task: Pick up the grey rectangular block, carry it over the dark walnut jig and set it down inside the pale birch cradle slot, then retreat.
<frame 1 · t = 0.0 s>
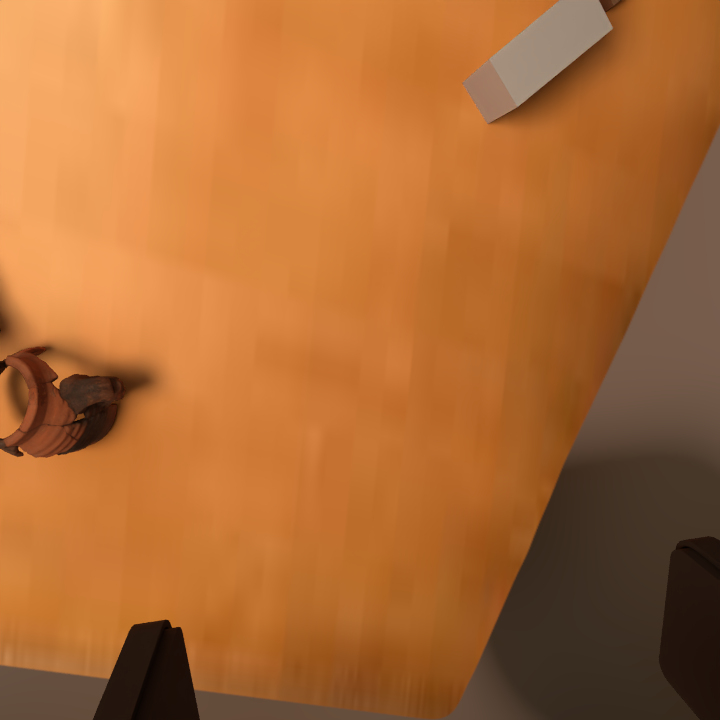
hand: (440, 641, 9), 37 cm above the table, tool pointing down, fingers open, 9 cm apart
grey rectangular block: (516, 69, 42), on the table
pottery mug: (74, 391, 44), on the table
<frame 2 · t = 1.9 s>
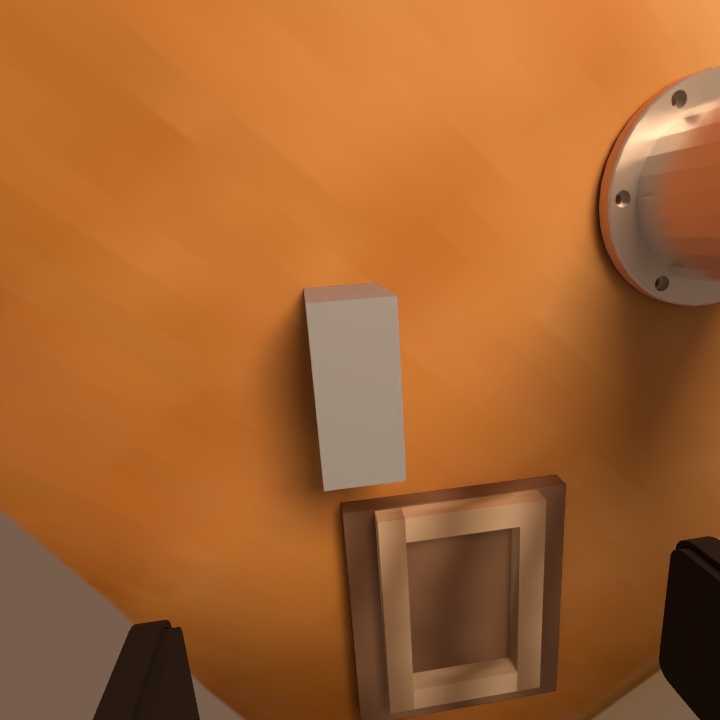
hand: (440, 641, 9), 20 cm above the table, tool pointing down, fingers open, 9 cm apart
jig: (453, 597, 33), on the table
grey rectangular block: (346, 363, 28), on the table
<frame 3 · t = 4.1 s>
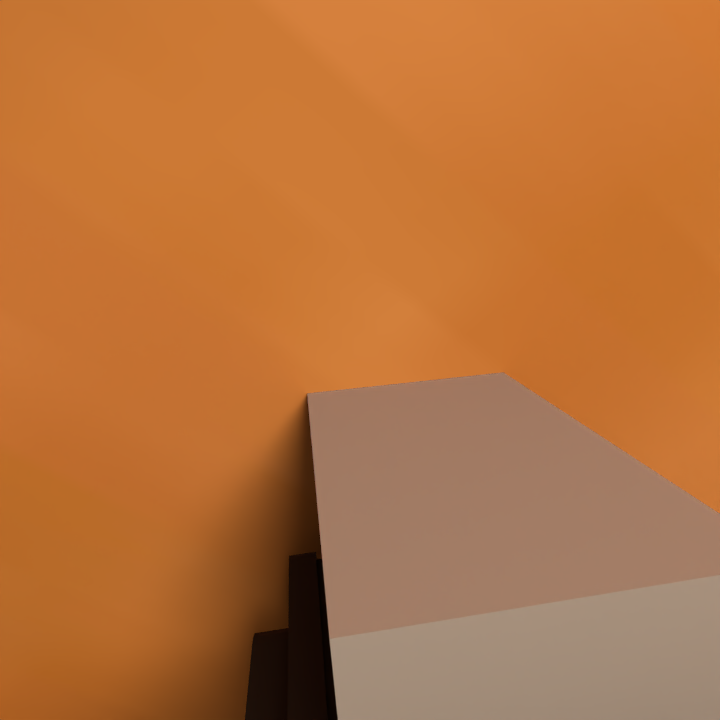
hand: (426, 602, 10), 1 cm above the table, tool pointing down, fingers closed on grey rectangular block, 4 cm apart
grey rectangular block: (416, 574, 11), on the table, touching gripper
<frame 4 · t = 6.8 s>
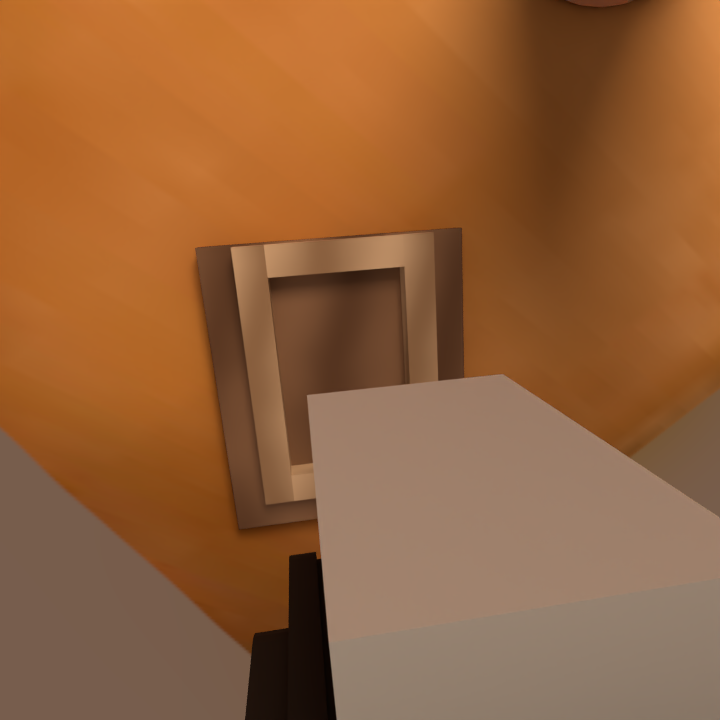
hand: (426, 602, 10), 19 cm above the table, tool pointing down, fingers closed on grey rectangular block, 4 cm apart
jig: (342, 380, 29), on the table
grey rectangular block: (415, 575, 11), point 18 cm above the table, touching gripper
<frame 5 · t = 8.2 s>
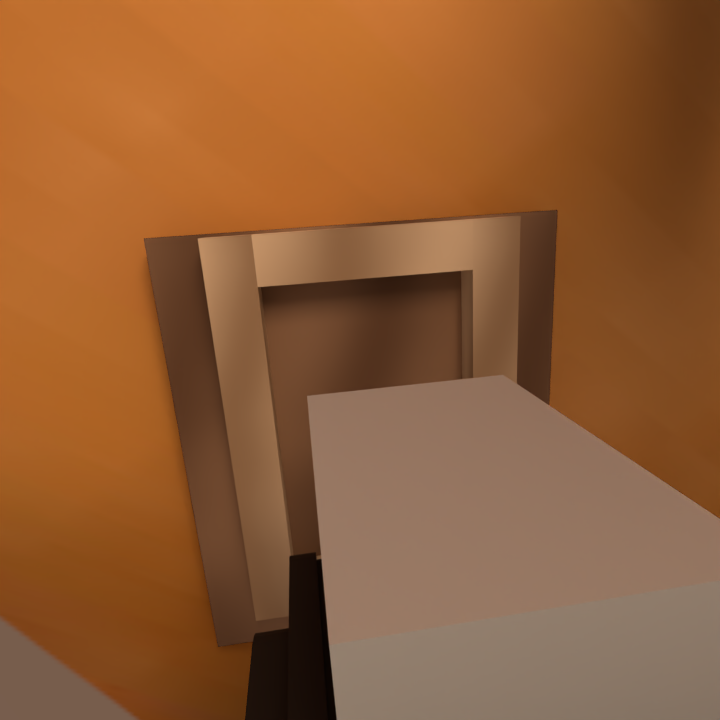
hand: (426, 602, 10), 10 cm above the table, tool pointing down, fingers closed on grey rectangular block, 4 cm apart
jig: (369, 433, 20), on the table
grey rectangular block: (415, 576, 11), point 9 cm above the table, touching gripper
when the fingers open (3 cm above the table, at t = 9.5 s): grey rectangular block drops 1 cm, resting on jig.
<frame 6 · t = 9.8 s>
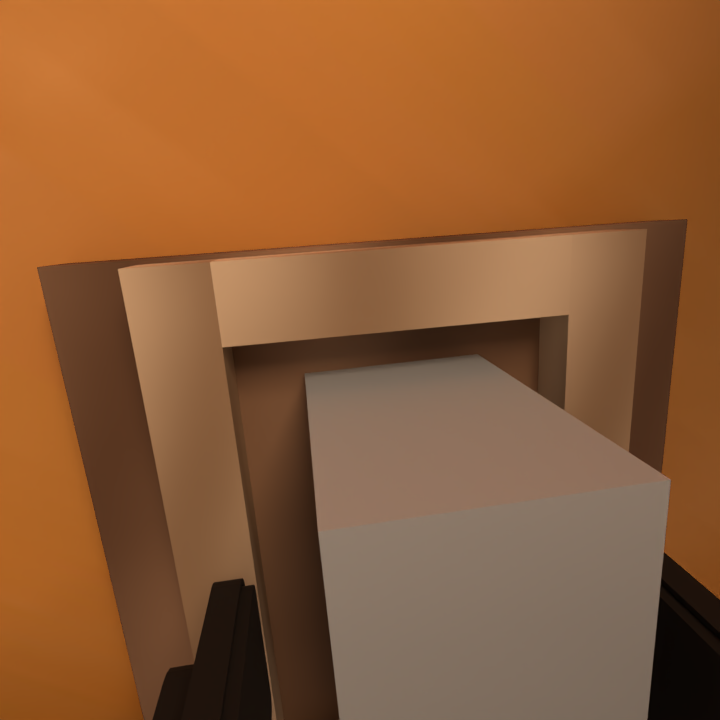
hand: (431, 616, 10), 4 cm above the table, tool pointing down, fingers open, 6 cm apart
jig: (394, 541, 14), on the table
grey rectangular block: (403, 535, 12), point 1 cm above the table, touching jig
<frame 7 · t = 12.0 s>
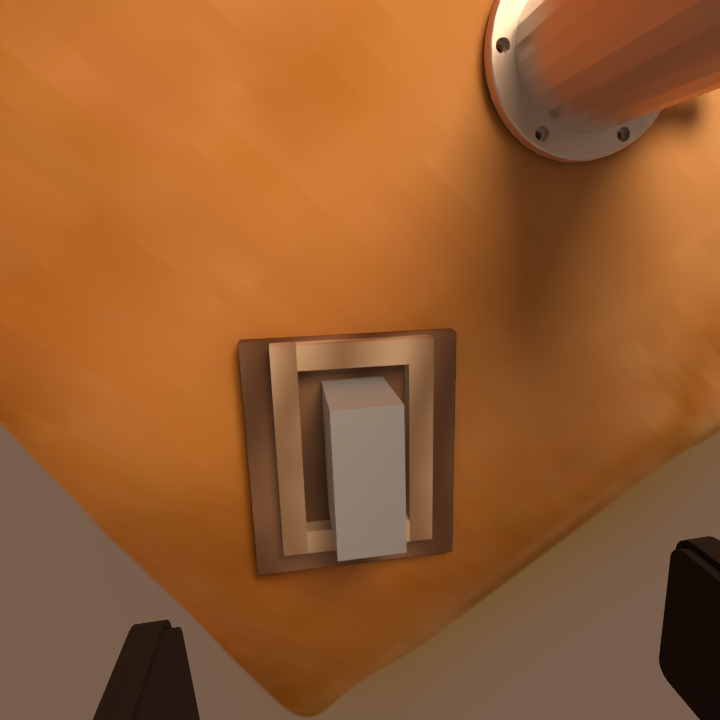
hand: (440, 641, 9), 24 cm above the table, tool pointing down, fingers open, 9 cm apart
jig: (352, 449, 34), on the table
grey rectangular block: (354, 442, 33), point 1 cm above the table, touching jig
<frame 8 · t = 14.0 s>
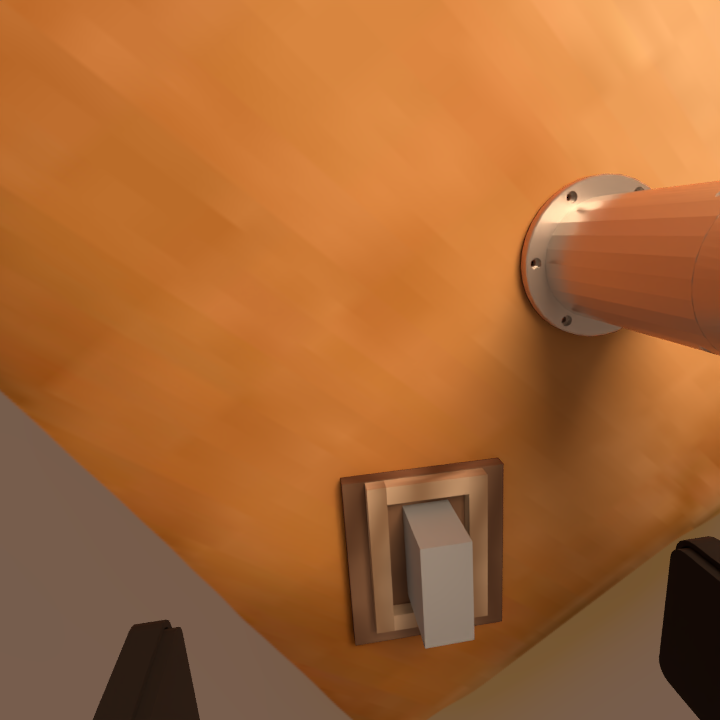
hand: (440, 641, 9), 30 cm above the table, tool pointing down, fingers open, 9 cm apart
jig: (423, 549, 44), on the table
grey rectangular block: (427, 547, 43), point 1 cm above the table, touching jig
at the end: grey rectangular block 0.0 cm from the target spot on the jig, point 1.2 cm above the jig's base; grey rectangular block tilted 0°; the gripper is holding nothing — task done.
